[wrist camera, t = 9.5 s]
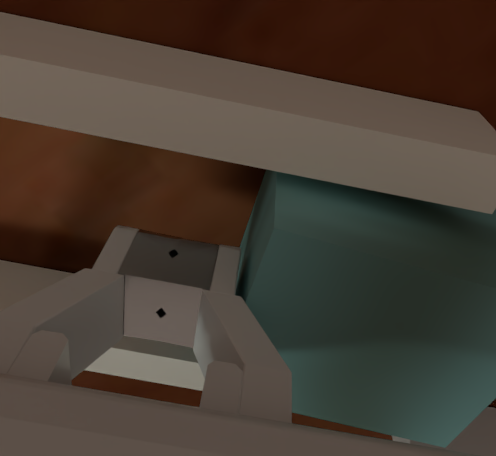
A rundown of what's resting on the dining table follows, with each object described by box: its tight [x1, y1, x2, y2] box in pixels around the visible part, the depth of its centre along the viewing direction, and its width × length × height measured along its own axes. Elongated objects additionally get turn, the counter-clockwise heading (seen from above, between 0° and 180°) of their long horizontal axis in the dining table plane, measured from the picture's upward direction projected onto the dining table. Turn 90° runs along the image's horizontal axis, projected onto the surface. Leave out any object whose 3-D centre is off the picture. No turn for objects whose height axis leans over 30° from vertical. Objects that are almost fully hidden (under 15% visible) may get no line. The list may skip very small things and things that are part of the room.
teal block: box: [235, 169, 496, 448], centre depth 11 cm, size 6×5×4 cm
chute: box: [0, 12, 496, 391], centre depth 12 cm, size 14×9×2 cm, turn 80°
